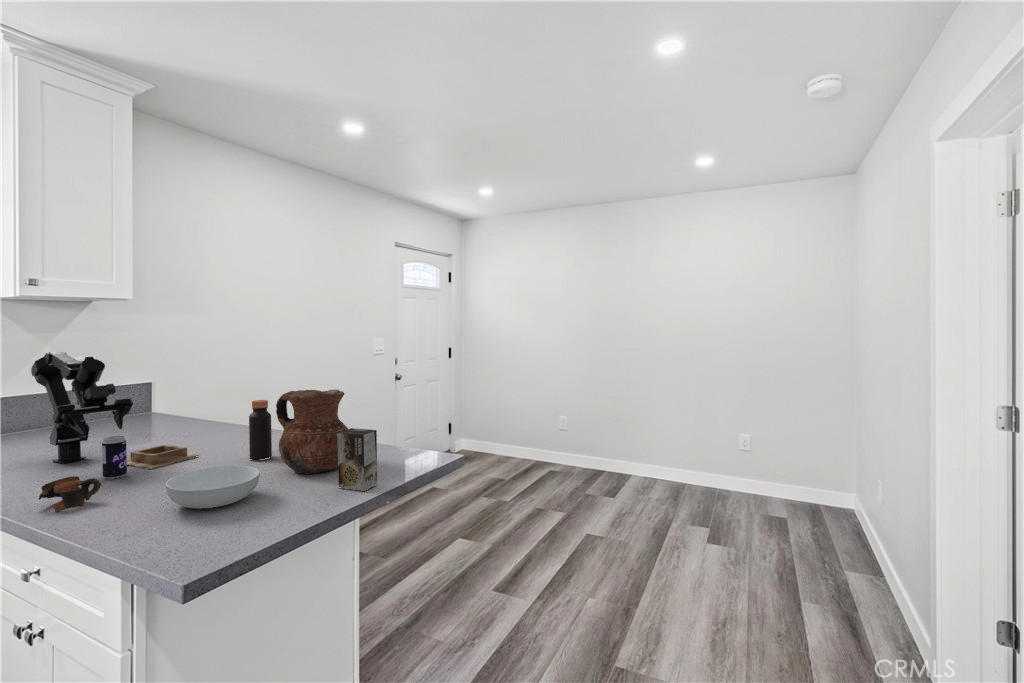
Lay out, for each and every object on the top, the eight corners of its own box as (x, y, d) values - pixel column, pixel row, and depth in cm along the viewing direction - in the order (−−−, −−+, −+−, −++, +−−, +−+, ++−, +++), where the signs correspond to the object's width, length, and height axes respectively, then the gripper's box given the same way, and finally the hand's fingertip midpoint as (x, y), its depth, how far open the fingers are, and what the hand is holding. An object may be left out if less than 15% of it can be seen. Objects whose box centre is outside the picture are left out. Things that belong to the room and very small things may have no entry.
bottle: (275, 457, 168) (275, 400, 167) (256, 462, 162) (255, 403, 162) (264, 455, 172) (263, 398, 171) (245, 459, 166) (244, 401, 165)
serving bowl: (191, 525, 112) (191, 495, 112) (150, 507, 123) (149, 480, 123) (276, 498, 130) (276, 472, 129) (233, 484, 141) (233, 460, 140)
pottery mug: (38, 518, 117) (30, 486, 118) (52, 522, 124) (44, 492, 126) (101, 496, 123) (92, 466, 125) (110, 501, 131) (102, 473, 133)
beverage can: (113, 480, 143) (112, 440, 143) (97, 479, 144) (96, 439, 144) (131, 474, 149) (130, 436, 148) (116, 473, 150) (115, 435, 149)
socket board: (118, 464, 160) (117, 453, 160) (167, 452, 175) (167, 442, 175) (150, 469, 154) (150, 458, 154) (198, 456, 169) (198, 446, 169)
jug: (343, 455, 171) (342, 385, 170) (360, 471, 153) (360, 392, 153) (274, 465, 159) (272, 389, 158) (284, 483, 141) (282, 398, 140)
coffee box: (378, 485, 140) (377, 429, 139) (364, 492, 134) (364, 434, 133) (351, 481, 143) (351, 427, 142) (337, 488, 137) (336, 431, 136)
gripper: (55, 379, 144) (71, 419, 139) (129, 373, 160) (146, 409, 155) (46, 403, 148) (61, 443, 143) (119, 395, 164) (135, 431, 159)
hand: (103, 431), depth 150 cm, fingers open, 9 cm apart
